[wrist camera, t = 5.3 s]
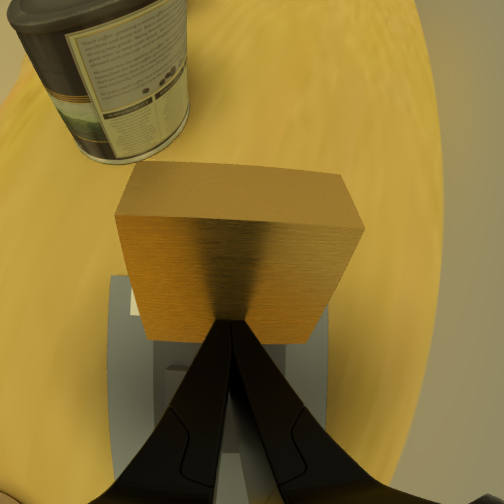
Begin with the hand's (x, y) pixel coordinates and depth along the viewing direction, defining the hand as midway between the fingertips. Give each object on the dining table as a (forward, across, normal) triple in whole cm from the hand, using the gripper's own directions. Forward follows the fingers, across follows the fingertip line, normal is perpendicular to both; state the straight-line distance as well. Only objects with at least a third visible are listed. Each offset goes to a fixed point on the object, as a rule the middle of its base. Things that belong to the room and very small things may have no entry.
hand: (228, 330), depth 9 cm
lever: (+3, 0, +7) cm, 8 cm away
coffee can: (+20, +8, -3) cm, 22 cm away
